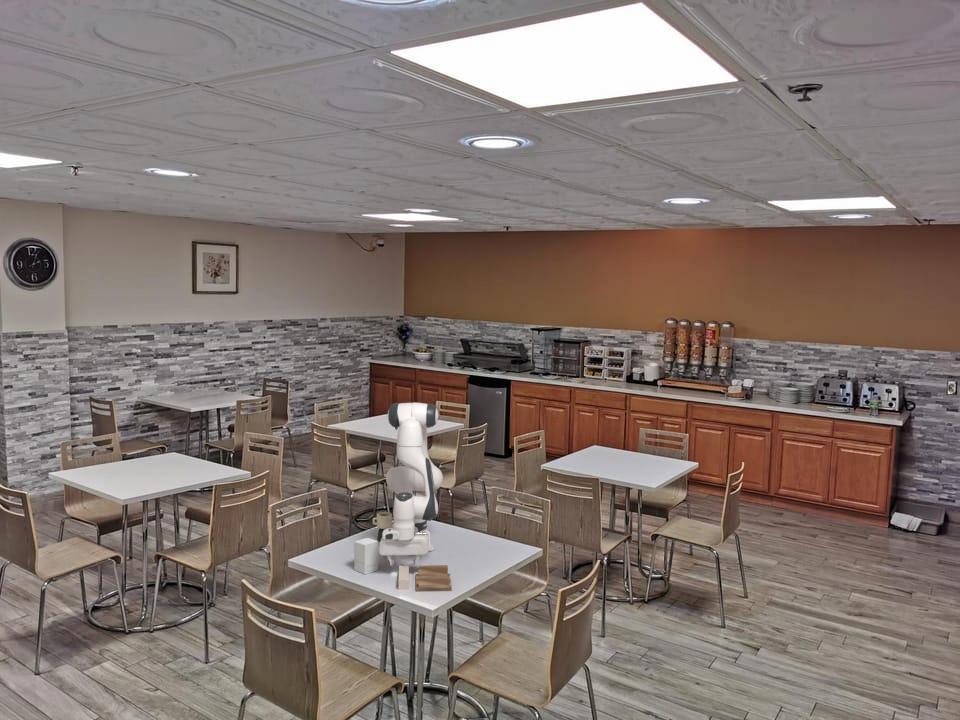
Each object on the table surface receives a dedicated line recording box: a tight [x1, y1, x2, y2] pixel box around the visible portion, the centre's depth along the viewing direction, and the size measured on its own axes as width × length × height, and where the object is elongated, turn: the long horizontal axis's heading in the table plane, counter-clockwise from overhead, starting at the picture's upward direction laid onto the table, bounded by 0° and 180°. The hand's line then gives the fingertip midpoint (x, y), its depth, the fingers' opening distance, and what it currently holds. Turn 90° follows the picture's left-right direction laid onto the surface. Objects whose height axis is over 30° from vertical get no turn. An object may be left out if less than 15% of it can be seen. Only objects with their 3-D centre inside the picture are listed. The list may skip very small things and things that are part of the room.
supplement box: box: [353, 537, 379, 575], centre depth 300 cm, size 7×7×13 cm
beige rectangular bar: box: [397, 565, 410, 590], centre depth 288 cm, size 16×4×4 cm, turn 6°
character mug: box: [372, 511, 394, 542], centre depth 338 cm, size 11×7×13 cm, turn 97°
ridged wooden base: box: [415, 564, 453, 592], centre depth 287 cm, size 15×14×5 cm
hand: (403, 564), depth 294 cm, fingers open, 8 cm apart
